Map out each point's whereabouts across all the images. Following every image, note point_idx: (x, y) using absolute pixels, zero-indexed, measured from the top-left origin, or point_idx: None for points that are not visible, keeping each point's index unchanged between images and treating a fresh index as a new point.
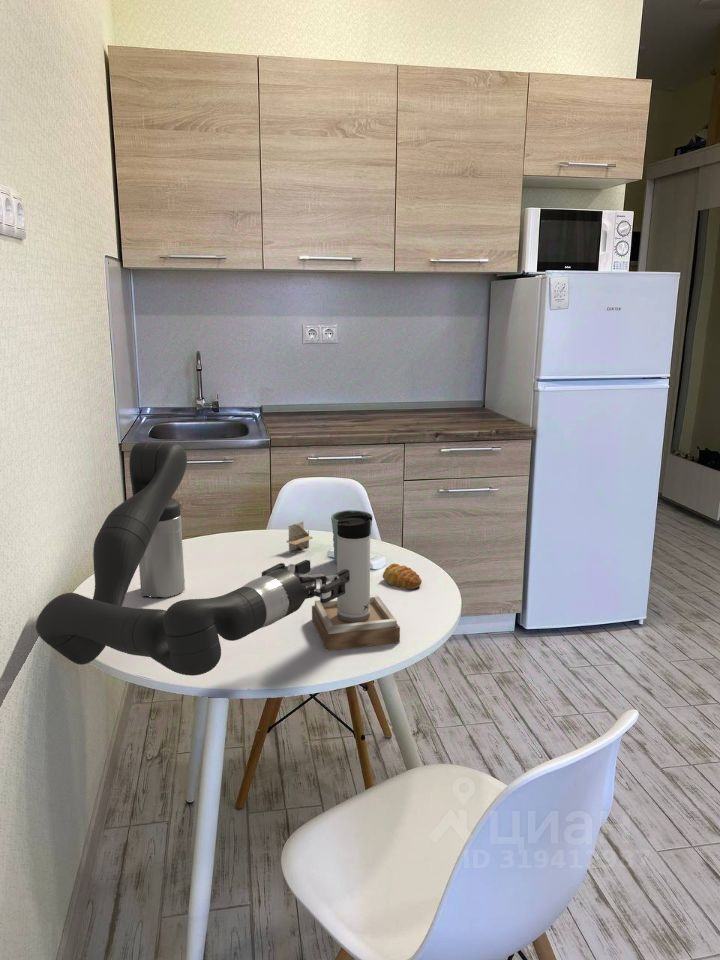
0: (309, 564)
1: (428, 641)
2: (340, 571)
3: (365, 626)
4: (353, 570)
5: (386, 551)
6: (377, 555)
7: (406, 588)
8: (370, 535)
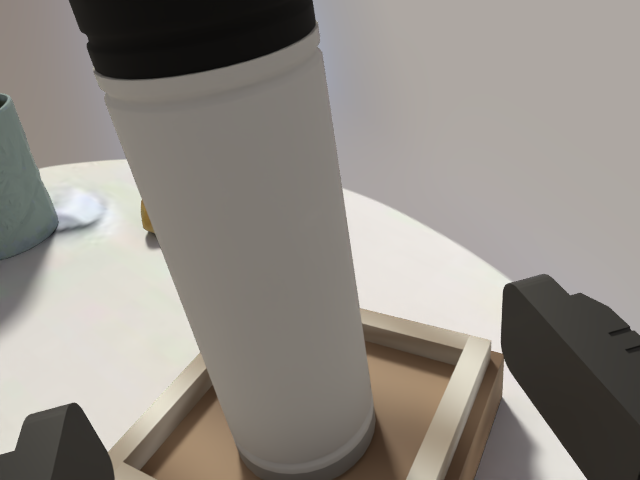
0: (87, 434)
1: None
2: (569, 339)
3: (449, 452)
4: (319, 254)
5: (66, 177)
6: (57, 193)
7: None
8: (29, 148)
